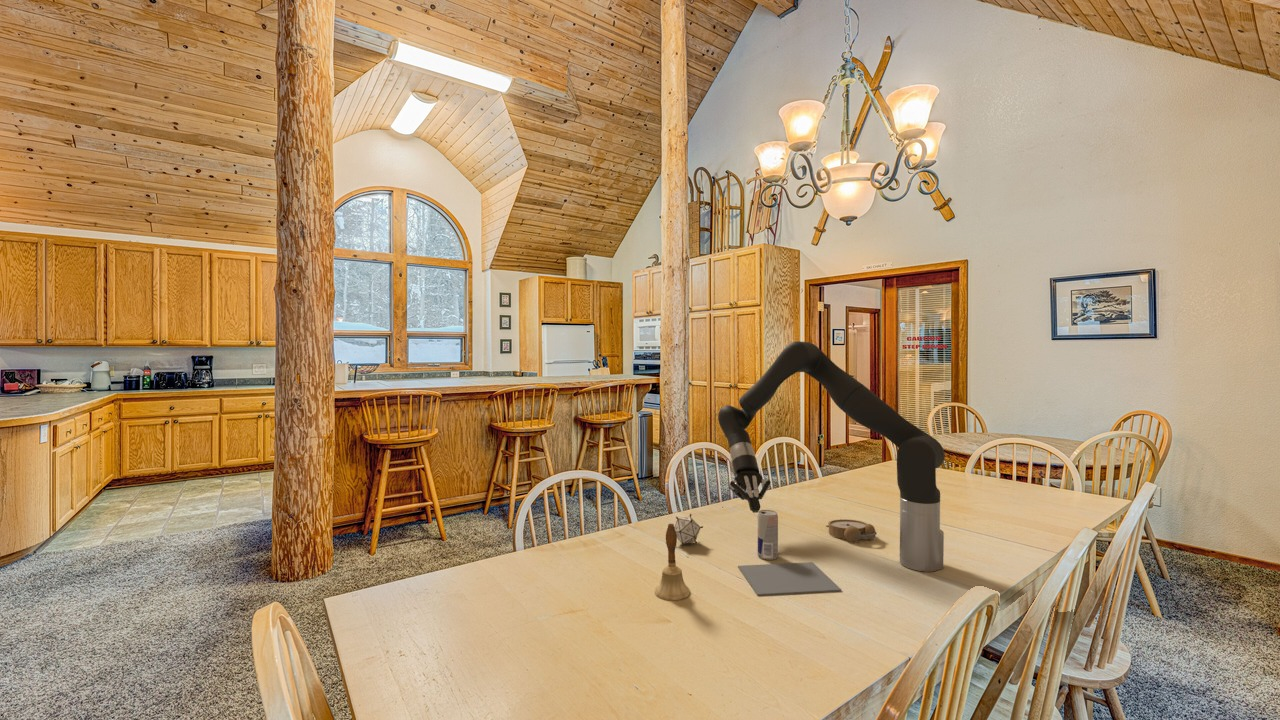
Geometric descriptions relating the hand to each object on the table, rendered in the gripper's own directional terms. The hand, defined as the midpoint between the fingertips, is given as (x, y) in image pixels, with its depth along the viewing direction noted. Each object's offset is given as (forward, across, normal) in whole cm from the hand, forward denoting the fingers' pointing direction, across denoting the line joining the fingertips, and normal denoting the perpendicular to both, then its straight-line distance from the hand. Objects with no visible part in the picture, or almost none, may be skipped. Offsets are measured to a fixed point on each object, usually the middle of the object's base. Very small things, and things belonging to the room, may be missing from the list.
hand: (756, 511), depth 157 cm
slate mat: (+24, 0, -11) cm, 26 cm away
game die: (+6, -20, +8) cm, 22 cm away
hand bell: (+27, -29, -14) cm, 42 cm away
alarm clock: (+6, +30, +8) cm, 31 cm away
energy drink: (+14, 0, -1) cm, 14 cm away
